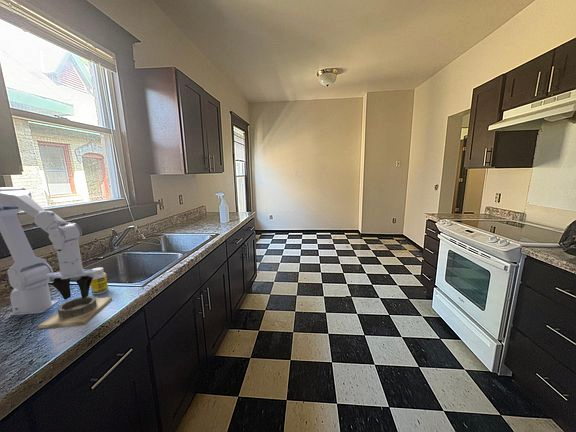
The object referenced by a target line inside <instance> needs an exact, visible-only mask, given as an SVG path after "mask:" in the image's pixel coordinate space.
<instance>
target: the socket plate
mask: <svg viewBox="0 0 576 432" xmlns="http://www.w3.org/2000/svg"><path fill="white" fill-rule="evenodd" d="M112 300H113V297H112V296H110V297H109V296H108V297H107V296H106V297H96V296H93V295H88V296H87V297H86V298H82V296H80V297H75V298H73V299H69V300H66V301H64V302H63V303H62V304H60V305H58V307H57V311H56V312H54V313H53V314H51V315H50V317H48V318H46V319H45V320H44V321H42V322H41V323H39V324H38V325H37V327H38V329H46V328H55V327H57V328H58V327H69V326H70V327H71V326H80V325H81V326H82V325H85V324H87V323H88V322H89V321H90V320H91V319H92V318H93V317H94V316H96V315H97V314H98V313H99V312H100V311H101V310H102V309H103V308H104V307H106V306H107V304H109V303H110V302H111V301H112Z"/></svg>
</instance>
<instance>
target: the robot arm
mask: <svg viewBox="0 0 576 432" xmlns="http://www.w3.org/2000/svg"><path fill="white" fill-rule="evenodd" d="M44 209H45V208H43V207H42V206H41V205H40V204H38V203H37V202H36V201H35V200H34V199H33V198H32V193H31V191H30V190H29V189H27V188H26V187H25V186H11V187H7V186H6V187H0V234H1V236H2V239H3V240H4V243H5V245H6V246H7V249H8V250H9V253H10V255H11V257H12V259H13V262H14V263H13V264H12V265H11V266H10V267H9V268H8V269H7V271H6V273H7V275H8V276H7V277H8V283H9V285H10V286H11V287H12V288H13V289H12V291H11V292H10V295H9V299H10V300H9V301H10V304H11V309H12V313H10V316H20V315H31V314H33V315H34V314H41V313H44V312H45V311H47V310H49V309H50V308H51V307H53V306H55V305H56V304H58V302H59V300H52V298H51V292H50V286H49V283H51V286H52V287H54V288H55V289H56V290H57V291H58V292H59V293H60V295H61V297H62V299H63V300H64V301H68V299H69V298H71V296H72V292H71V284H70V283H71V279H77V278H79V279H77V280H76V284H77V285H78V287H79V290H80V295H81V296H80V297H82V298H86V297H87V296H89V294H90V293H89V292H90V289H91V282H92V279H93V278H94V277H96V276H97V275H98V270H92V269H84V268H83V262H82V255H81V249H80V243H79V239H81V238H82V235H83V231H82V228H81V227H80V226H79V225H78V223H76V222H70V221H66V220H65V219H63V218H62V217H61V216H60V215H58V214H57V213H55V212H54V211H52V210H44ZM21 212H25V214H28V215H29V216H31V217H32V218H34V219H33V223H34V224H35V225H37V226H38V228H40V229H42V230H43V231H44V232H46V233H47V234H48V235H47V236H48V240H49V241H51V244H52V246H53V248H54V249H55V250H56V256H57V261H58V266H59V271H56V272H54V271H53V268H52V266H51V265H49V263H48V261H47V259H45V258H41V257H38V256H36V255H35V253H34V251H33V248H32V245H31V244H30V242H29V239H28V237H27V235H26V234H25V230H24V229H23V226H22V224H21V223H20V220H19V218H18V213H21ZM51 281H52V282H51Z"/></svg>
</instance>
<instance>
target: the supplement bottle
mask: <svg viewBox="0 0 576 432" xmlns="http://www.w3.org/2000/svg"><path fill="white" fill-rule="evenodd" d="M91 270H98V275H97V276H96V277H94V278H93V279H92V282H91V284H90V290H91V294H92V295H101V294H104V293H107V292H108V290H109V286H108V277H107V273H106V272H105V271H104V267H95V268H94V267H93V268H91Z"/></svg>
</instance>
